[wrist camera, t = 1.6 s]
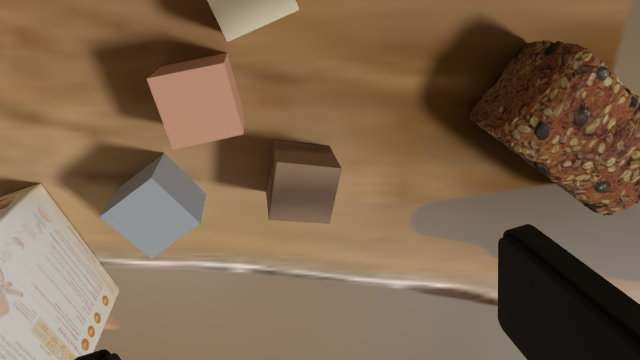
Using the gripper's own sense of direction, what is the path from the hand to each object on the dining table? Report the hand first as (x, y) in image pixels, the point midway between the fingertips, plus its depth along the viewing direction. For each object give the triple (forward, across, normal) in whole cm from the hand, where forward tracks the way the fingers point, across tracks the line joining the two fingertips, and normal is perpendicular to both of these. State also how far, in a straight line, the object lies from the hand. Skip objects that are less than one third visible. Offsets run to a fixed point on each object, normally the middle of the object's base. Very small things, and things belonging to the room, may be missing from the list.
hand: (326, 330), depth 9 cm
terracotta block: (+31, +5, -1) cm, 32 cm away
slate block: (+32, +12, +8) cm, 35 cm away
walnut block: (+31, -2, +9) cm, 33 cm away
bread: (+31, -30, +11) cm, 45 cm away
